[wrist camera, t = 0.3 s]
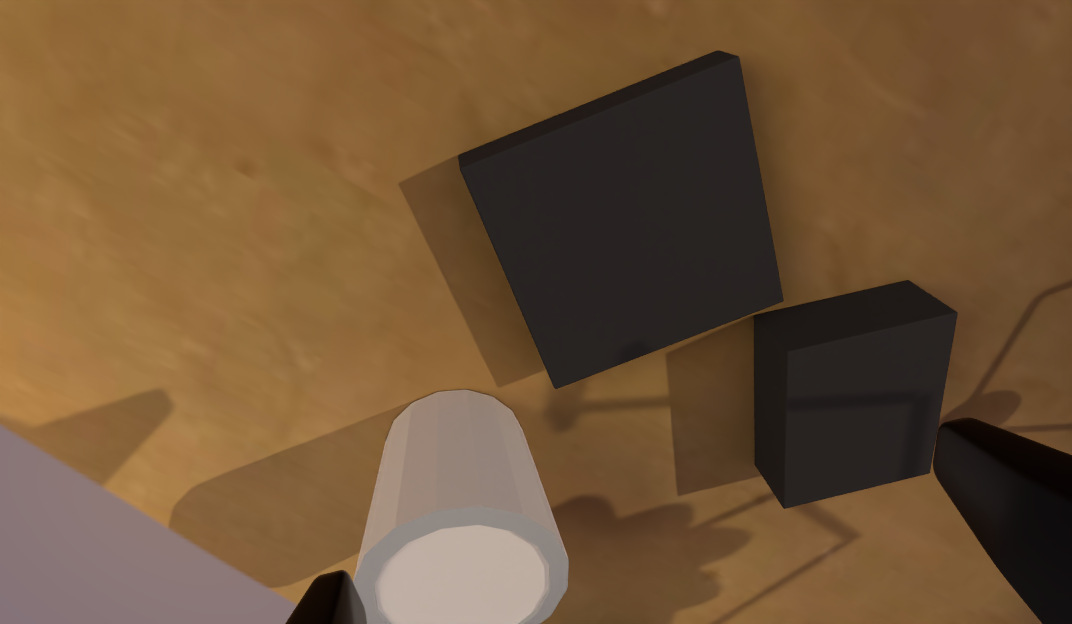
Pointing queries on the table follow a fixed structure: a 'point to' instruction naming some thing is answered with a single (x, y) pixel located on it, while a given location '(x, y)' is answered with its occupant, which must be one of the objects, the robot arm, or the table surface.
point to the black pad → (849, 391)
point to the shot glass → (459, 521)
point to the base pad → (631, 218)
